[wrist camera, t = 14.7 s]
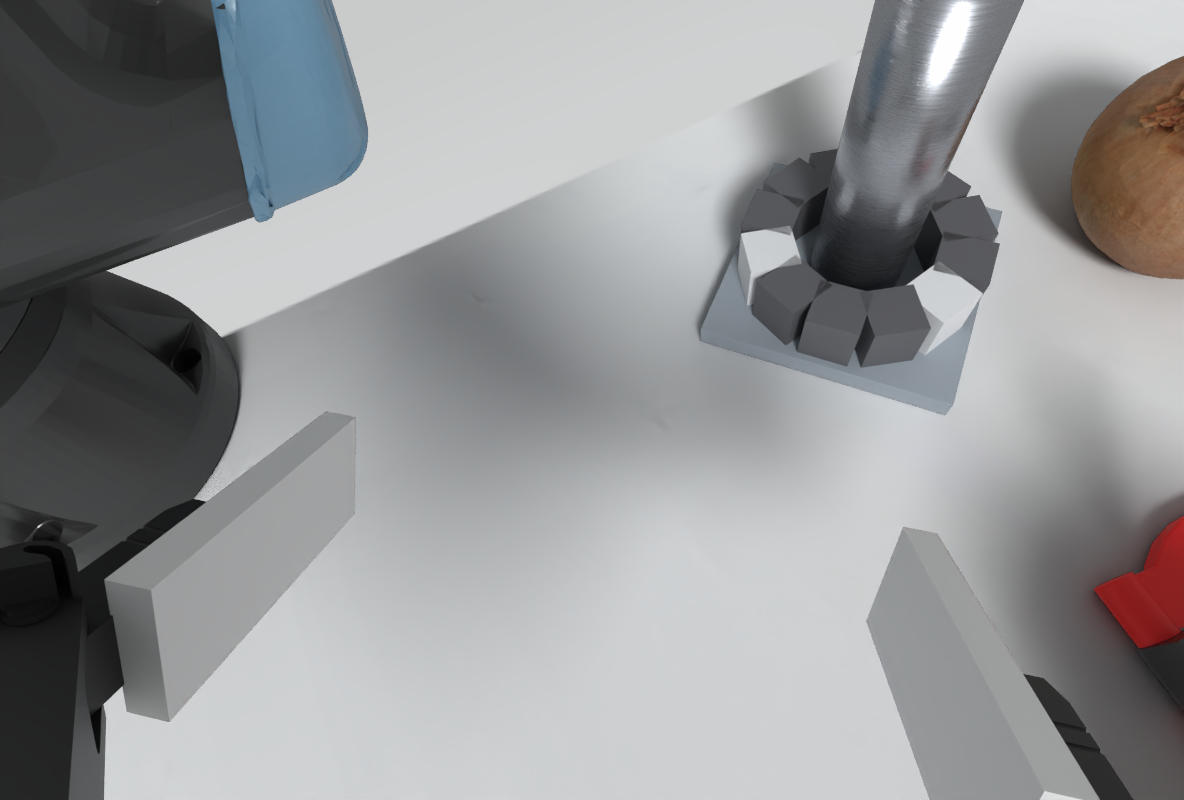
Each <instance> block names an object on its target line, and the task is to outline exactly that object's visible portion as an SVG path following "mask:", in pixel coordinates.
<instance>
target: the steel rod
mask: <svg viewBox="0 0 1184 800" xmlns="http://www.w3.org/2000/svg"><path fill="white" fill-rule="evenodd" d="M1023 2H1024V0H875V3H874V7H873V11H872V15H871V19H870V23H869V27H868V32H867V35H866V39H865V43H864V47H863V51H862V55H861V59H860V63H859V67H858V71H857V75H856V79H855V83H854V87H853V91H852V95H851V99H850V103H849V107H848V111H847V115H846V119H845V123H844V127H843V131H842V135H841V139H840V143H839V147H838V151H837V155H836V159H835V163H834V167H833V172H832V176H831V180H830V184H829V188H828V192H827V196H826V200H825V204H824V208H823V212H822V216H821V220H820V224H819V228H818V232H817V236H816V240H815V244H814V248H813V252H812V256H811V260H810V264H809V266H810V267H811V268H812V269H814V270H815V271H816V272H817V273H818V274H820V275H821V276H822V277H823V278H824V279H826V280H827V281H829V282H832V283H836V284H840V285H844V286H848V287H852V288H856V289H859V290H863V291H873V290H879V289H886V288H892V287H895V286H896V284H897V282H898V280H899V278H900V276H901V273H902V271H903V269H904V267H905V264H906V262H907V260H908V258H909V256H910V253H911V251H912V249H913V247H914V244H915V242H916V240H917V238H918V235H919V233H920V231H921V229H922V227H923V224H924V222H925V220H926V218H927V215H928V213H929V211H930V209H931V207H932V204H933V202H934V200H935V198H936V195H937V193H938V191H939V189H940V187H941V184H942V182H943V180H944V178H945V175H946V173H947V171H948V169H949V167H950V164H951V162H952V160H953V158H954V155H955V153H956V151H957V149H958V146H959V144H960V142H961V140H962V138H963V135H964V133H965V131H966V129H967V126H968V124H969V122H970V120H971V118H972V115H973V113H974V111H975V109H976V106H977V104H978V102H979V100H980V98H981V95H982V93H983V91H984V89H985V86H986V84H987V82H988V80H989V78H990V75H991V73H992V71H993V69H994V66H995V64H996V62H997V60H998V57H999V55H1000V53H1001V51H1002V49H1003V46H1004V44H1005V42H1006V40H1007V37H1008V35H1009V33H1010V31H1011V29H1012V26H1013V24H1014V22H1015V20H1016V17H1017V15H1018V13H1019V11H1020V9H1021V6H1022V4H1023Z"/></svg>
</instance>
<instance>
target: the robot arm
mask: <svg viewBox="0 0 1184 800" xmlns="http://www.w3.org/2000/svg"><path fill="white" fill-rule="evenodd" d="M367 142H368V127H367V122H366V117H365V113H364V109H363V104H362V100H361V96H360V92H359V89H358V85H357V82H356V78H355V75H354V72H353V68H352V65H351V61H350V58H349V55H348V51H347V48H346V45H345V41H344V38H343V35H342V32H341V28H340V25H339V22H338V19H337V16H336V12H335V9H334V6H333V3H332V0H0V800H104V771H105V734H106V716H105V710H104V705H103V704H104V703H105V702H106V701H107V700H108V699H109V698H110V697H111V696H112V695H113V694H114V693H115V692H116V691H118V690H119V689H120V688H121V687H122V686H123V692H124V698H125V704H126V710H127V712H130V713H134V714H138V715H143V716H147V717H151V718H155V719H159V720H163V721H168V722H170V721H171V720H172V718H173V717H174V716H175V715H176V714H177V713H178V712H179V711H180V709H181V708H182V707H183V706H184V705H185V704H186V703H187V702H188V700H189V699H190V698H191V697H192V696H193V695H194V694H195V693H196V691H197V690H198V689H199V688H200V687H201V686H202V685H203V684H204V682H205V681H206V680H207V679H208V678H209V677H210V676H211V675H212V673H213V672H214V671H215V670H216V669H217V668H218V667H219V666H220V664H221V663H222V662H223V661H224V660H225V659H226V658H227V657H228V655H229V654H230V653H231V652H232V651H233V650H234V649H235V648H236V646H237V645H238V644H239V643H240V642H241V641H242V640H243V639H244V637H245V636H246V635H247V634H248V633H249V632H250V631H251V630H252V628H253V627H254V626H255V625H256V624H257V623H258V622H259V621H260V619H261V618H262V617H263V616H264V615H265V614H266V613H267V612H268V610H269V609H270V608H271V607H272V606H273V605H274V604H275V603H276V601H277V600H278V599H279V598H280V597H281V596H282V595H283V594H284V592H285V591H286V590H287V589H288V588H289V587H290V586H291V585H292V583H293V582H294V581H295V580H296V579H297V578H298V577H299V576H300V574H301V573H302V572H303V571H304V570H305V569H306V568H307V567H308V565H309V564H310V563H311V562H312V561H313V560H314V559H315V558H316V556H317V555H318V554H319V553H320V552H321V551H322V550H323V549H324V547H325V546H326V545H327V544H328V543H329V542H330V541H331V540H332V538H333V537H334V536H335V535H336V534H337V533H338V532H339V531H340V529H341V528H342V527H343V526H344V525H345V524H346V523H347V522H348V520H349V519H350V518H351V517H352V516H353V515H354V514H355V447H356V417H351V416H346V415H341V414H336V413H331V412H325V413H323V414H322V415H321V416H319V417H318V418H317V419H315V420H314V421H313V422H311V423H310V424H309V425H307V426H306V427H305V428H303V429H302V430H301V431H299V432H298V433H297V434H296V435H294V436H293V437H292V438H290V439H289V440H288V441H286V442H285V443H284V444H282V445H281V446H280V447H278V448H277V449H276V450H274V451H273V452H272V453H270V454H269V455H268V456H266V457H265V458H264V459H263V460H261V461H260V462H259V463H257V464H256V465H255V466H253V467H252V468H251V469H249V470H248V471H247V472H245V473H244V474H243V475H241V476H240V477H239V478H237V479H236V480H235V481H234V482H232V483H231V484H230V485H228V486H227V487H226V488H224V489H223V490H222V491H220V492H219V493H218V494H216V495H215V496H214V497H212V498H211V499H210V500H208V501H207V502H205V501H200V500H196V499H193V498H194V497H195V496H196V494H197V493H198V492H199V490H200V489H201V488H202V486H203V485H204V484H205V482H206V481H207V479H208V478H209V476H210V475H211V473H212V471H213V470H214V468H215V466H216V465H217V463H218V461H219V459H220V457H221V455H222V453H223V451H224V449H225V446H226V444H227V442H228V439H229V436H230V434H231V431H232V427H233V424H234V420H235V416H236V411H237V404H238V377H237V371H236V366H235V363H234V360H233V357H232V355H231V352H230V350H229V349H228V347H227V345H226V343H225V342H224V341H223V339H222V338H221V337H220V336H219V335H218V333H217V332H216V331H215V330H213V329H212V328H211V327H210V326H209V325H208V324H207V323H205V322H204V321H203V320H202V319H201V318H199V317H198V316H197V315H196V314H195V313H194V312H193V311H191V310H190V309H189V308H188V307H186V306H185V305H183V304H182V303H181V302H179V301H177V300H176V299H174V298H172V297H170V296H169V295H166V294H164V293H162V292H159V291H157V290H154V289H151V288H149V287H146V286H143V285H141V284H139V283H136V282H133V281H131V280H128V279H126V278H123V277H121V276H118V275H116V274H113V273H110V272H108V271H106V270H109V269H112V268H114V267H117V266H119V265H123V264H125V263H128V262H130V261H133V260H136V259H139V258H141V257H145V256H147V255H150V254H153V253H156V252H158V251H161V250H164V249H167V248H169V247H172V246H175V245H178V244H180V243H183V242H186V241H189V240H191V239H194V238H197V237H200V236H202V235H205V234H208V233H211V232H213V231H216V230H219V229H222V228H225V227H227V226H230V225H233V224H236V223H238V222H241V221H244V220H246V219H249V218H252V217H254V218H255V220H256V221H258V222H263V221H267V220H268V219H270V218H272V216H273V213H274V211H275V210H276V209H278V208H281V207H283V206H286V205H288V204H291V203H293V202H296V201H298V200H301V199H303V198H305V197H308V196H310V195H312V194H315V193H317V192H320V191H322V190H325V189H327V188H329V187H332V186H334V185H337V184H339V183H341V182H342V181H344V180H345V179H346V178H348V177H349V176H351V175H352V174H353V173H354V172H355V171H356V170H357V168H358V167H359V165H360V164H361V162H362V160H363V157H364V154H365V152H366V148H367ZM866 622H867V624H868V627H869V630H870V633H871V636H872V639H873V641H874V644H875V647H876V650H877V653H878V655H879V658H880V661H881V664H882V667H883V669H884V672H885V675H886V678H887V681H888V683H889V686H890V689H891V692H892V695H893V698H894V700H895V703H896V706H897V709H898V712H899V714H900V717H901V720H902V723H903V726H904V728H905V731H906V734H907V737H908V740H909V743H910V745H911V748H912V751H913V754H914V757H915V759H916V762H917V765H918V768H919V771H920V773H921V776H922V779H923V782H924V785H925V788H926V790H927V793H928V796H929V799H930V800H1133V798H1132V797H1131V795H1130V794H1129V792H1128V791H1127V789H1126V788H1125V786H1124V785H1123V783H1122V782H1121V780H1120V779H1119V777H1118V776H1117V774H1116V773H1115V771H1114V770H1113V768H1112V767H1111V765H1110V763H1109V762H1108V760H1107V759H1106V757H1105V756H1104V755H1103V754H1100V748H1099V747H1098V745H1097V744H1096V742H1095V741H1094V739H1093V738H1092V736H1091V735H1090V733H1086V727H1085V726H1084V724H1083V723H1082V721H1081V720H1080V718H1079V717H1078V715H1077V714H1076V712H1075V711H1074V709H1073V708H1072V706H1071V704H1070V703H1069V702H1068V701H1067V700H1066V699H1065V698H1064V697H1063V696H1062V695H1061V694H1059V693H1058V692H1057V691H1056V690H1055V689H1054V688H1053V687H1052V686H1051V685H1050V684H1049V683H1048V682H1047V681H1046V680H1045V679H1044V678H1040V677H1035V676H1030V675H1025V674H1023V673H1022V671H1021V670H1020V668H1019V667H1018V665H1017V663H1016V662H1015V660H1014V658H1013V657H1012V655H1011V653H1010V652H1009V650H1008V649H1007V647H1006V645H1005V644H1004V642H1003V640H1002V639H1001V637H1000V635H999V634H998V632H997V631H996V629H995V627H994V626H993V624H992V622H991V621H990V619H989V617H988V616H987V614H986V613H985V611H984V609H983V608H982V606H981V604H980V603H979V601H978V599H977V598H976V596H975V594H974V593H973V591H972V590H971V588H970V586H969V585H968V583H967V581H966V580H965V578H964V576H963V575H962V573H961V572H960V570H959V568H958V567H957V565H956V563H955V562H954V560H953V558H952V557H951V555H950V554H949V552H948V550H947V549H946V547H945V545H944V544H943V542H942V540H941V539H940V537H939V536H938V534H936V533H931V532H926V531H921V530H916V529H911V528H906V527H903V529H902V531H901V534H900V537H899V539H898V542H897V544H896V547H895V549H894V552H893V554H892V557H891V559H890V562H889V565H888V567H887V570H886V572H885V575H884V577H883V580H882V582H881V585H880V587H879V590H878V593H877V595H876V598H875V600H874V603H873V605H872V608H871V610H870V613H869V616H868V618H867V621H866Z"/></svg>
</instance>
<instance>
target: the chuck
mask: <svg viewBox="0 0 1184 800" xmlns="http://www.w3.org/2000/svg"><path fill="white" fill-rule="evenodd" d="M837 151H838V149H835V150H829V151H823V152H817V153H811V155H810V159H809V164H807V163H806V162H805V161H803V160H802V159H801V158H799V159H797V160H796V161H794V162H793V163H791V164H790V165H788V166H787V165H782V164H778V163H774V165H773V168H772V170H771V172H770V174H769V177H768V179H767V180H766V181H764V187H763V190H760V189H757V191H756V193H755V196H754V198H753V200H752V202H751V204H750V207H749V209H748V211H747V213H746V216H745V218H744V220H743V222H742V227H741V237H740V242H739V244H738V246H737V249H736V251H735V253H734V255H733V258H732V260H731V262H730V264H729V267H728V269H727V271H726V273H725V276H724V278H723V280H722V282H721V285H720V287H719V289H718V291H717V293H716V296H715V298H714V300H713V302H712V305H711V307H710V309H709V311H708V314H707V316H706V318H705V320H704V323H703V325H702V327H701V334H700V341H703V342H706V343H709V344H713V345H716V346H719V347H722V348H726V349H729V350H732V351H736V352H739V353H742V354H745V355H749V356H752V357H755V358H759V359H762V360H765V361H769V362H772V363H775V364H778V365H782V366H785V367H788V368H792V369H795V370H798V371H801V372H805V373H808V374H811V375H815V376H818V377H821V378H825V379H828V380H831V381H834V382H838V383H841V384H844V385H848V386H851V387H854V388H857V389H861V390H864V391H867V392H871V393H874V394H877V395H881V396H884V397H887V398H890V399H894V400H897V401H900V402H904V403H907V404H910V405H913V406H917V407H920V408H923V409H927V410H930V411H933V412H936V413H940V414H943V415H946V413H947V412H948V411H949V409H950V408H951V407H952V405H953V403H954V400H955V396H956V392H957V388H958V384H959V380H960V376H961V372H962V368H963V364H964V360H965V356H966V352H967V348H968V344H969V340H970V337H971V333H972V329H973V325H974V321H975V317H976V313H977V309H978V305H979V301H980V298H981V297H982V295H983V294H984V292H985V291H986V289H987V287H988V286H989V284H990V281H991V277H992V273H993V269H994V265H995V261H996V257H997V253H998V249H999V245H1000V244H999V243H994V242H995V238H996V236H997V235H998V231H997V230H998V226H999V222H1000V218H1001V214H1002V211H999V210H994V209H990V208H986V207H985V205H984V203H983V201H982V199H981V197H980V195H977V196H970V197H966V196H967V194H968V192H969V190H970V188H971V186H970V185H968V184H967V183H965V182H964V181H962V180H961V179H959V178H958V177H956V176H955V175H953V174H952V173H950V172H949V171H947V173H946V175H945V178H944V180H943V182H942V184H941V187H940V189H939V191H938V193H937V195H936V198H935V200H934V202H933V204H932V207H931V209H930V211H929V213H928V215H927V218H926V220H925V222H924V224H923V227H922V229H921V231H920V233H919V235H918V238H917V240H916V242H915V244H914V247H913V249H912V251H911V253H910V256H909V258H908V260H907V262H906V264H905V267H904V269H903V271H902V273H901V276H900V278H899V280H898V282H897V284H896V286H895V287H892V288H886V289H879V290H873V291H863V290H859V289H856V288H852V287H848V286H844V285H840V284H836V283H832V282H829V281H827V280H826V279H824V278H823V277H822V276H821V275H820V274H818V273H817V272H816V271H815V270H814V269H812V268H811V267H810V266H809V264H810V260H811V256H812V252H813V248H814V244H815V240H816V236H817V232H818V228H819V224H820V220H821V216H822V212H823V208H824V204H825V200H826V196H827V192H828V188H829V184H830V180H831V176H832V172H833V167H834V163H835V159H836V155H837Z"/></svg>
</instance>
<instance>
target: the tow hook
mask: <svg viewBox="0 0 1184 800" xmlns="http://www.w3.org/2000/svg"><path fill="white" fill-rule="evenodd" d="M1094 591H1095V592H1096V593H1097V595H1098V596H1099V597H1100V599H1101V600H1102V601H1103V602H1104V604H1105V605H1106V606H1107V608H1108V609H1109V610H1110V612H1111V613H1112V614H1113V615H1114V617H1115V618H1116V619H1117V621H1118V622H1119V623H1120V625H1121V626H1122V627H1123V628H1124V630H1125V631H1126V632H1127V634H1128V635H1129V636H1130V638H1131V639H1132V640H1133V641H1134V643H1135V644H1136V645H1137V647H1138V653H1139V654H1140V656H1141V657H1142V658H1143V660H1144V661H1145V662H1146V664H1147V665H1148V666H1149V668H1150V669H1151V670H1152V671H1153V673H1154V674H1155V675H1156V677H1157V678H1158V679H1159V681H1160V682H1161V683H1162V685H1163V686H1164V687H1165V688H1166V690H1167V691H1168V692H1169V694H1170V695H1171V696H1172V698H1173V699H1174V700H1175V701H1176V703H1177V704H1178V705H1179V707H1180V708H1181V709H1183V710H1184V630H1183V631H1180V630H1179V629H1181V628H1183V627H1184V516H1182V517H1180V518H1178V519H1177V520H1175V521H1173V522H1171V523H1169V524H1168V525H1167V527H1166V528H1165V529H1164V530H1163V531H1162V532H1161V533H1160V535H1159V536H1158V537H1157V538H1156V539H1155V540H1154V541H1153V543H1152V546H1151V548H1150V551H1149V554H1148V557H1147V559H1146V562H1145V565H1144V571H1141V572H1139V573H1137V574H1134V573H1133V572H1130V573H1126V574H1124V575H1121V576H1119V577H1116V578H1114V579H1112V580H1110V581H1107V582H1105V583H1103V584H1101V585H1099V586H1097V587H1096V588H1095V589H1094Z"/></svg>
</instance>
